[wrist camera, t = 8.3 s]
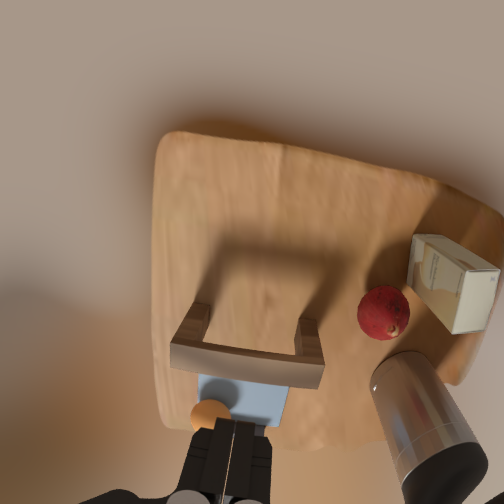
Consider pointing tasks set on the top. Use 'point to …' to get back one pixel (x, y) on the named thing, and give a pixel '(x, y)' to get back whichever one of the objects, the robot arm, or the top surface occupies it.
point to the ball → (208, 413)
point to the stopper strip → (258, 430)
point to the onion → (383, 313)
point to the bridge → (247, 355)
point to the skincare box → (452, 282)
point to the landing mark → (245, 398)
